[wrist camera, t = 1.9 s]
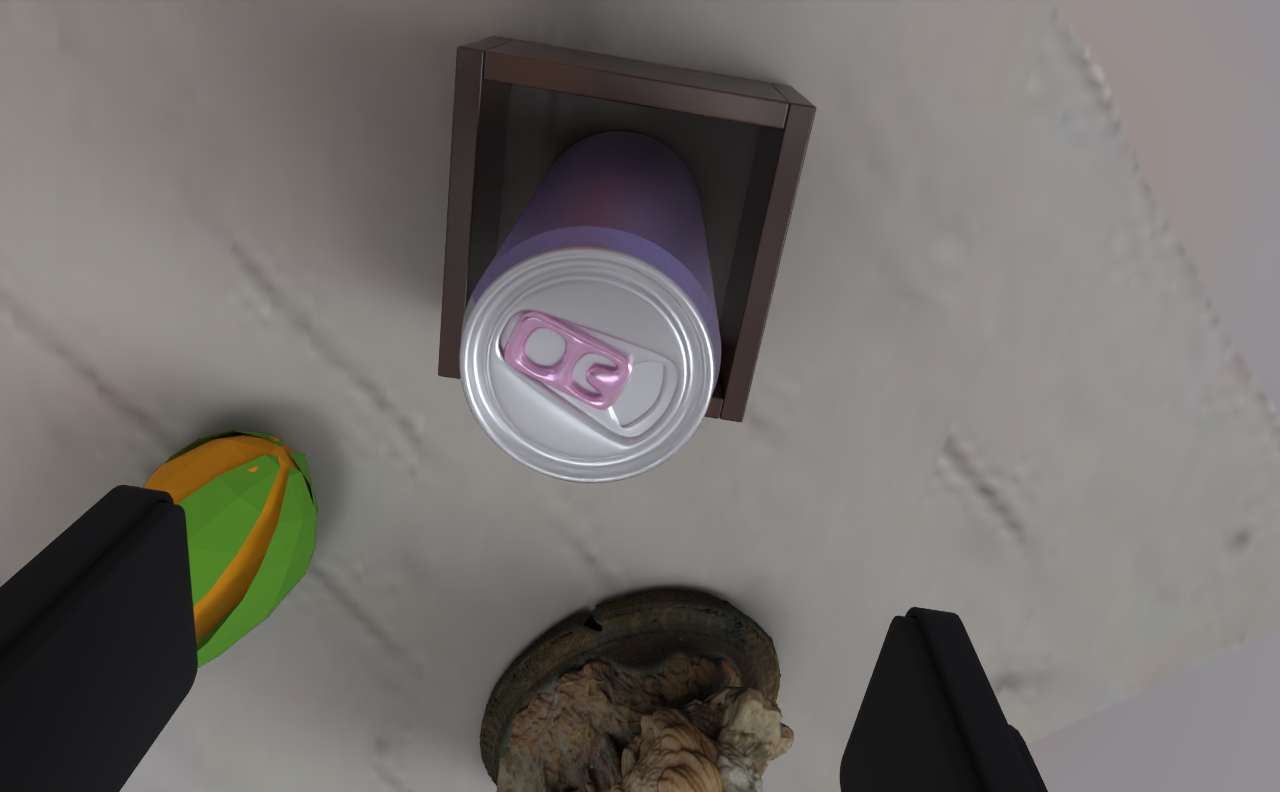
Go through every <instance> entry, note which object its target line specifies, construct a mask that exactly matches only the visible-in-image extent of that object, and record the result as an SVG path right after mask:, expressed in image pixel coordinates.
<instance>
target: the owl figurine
mask: <svg viewBox="0 0 1280 792" xmlns="http://www.w3.org/2000/svg"><path fill="white" fill-rule="evenodd" d="M596 606H597V607H596V610H594V617H593V618H594V619H595V621H596V622H597V623H598V624H600V625H602V628H603V629H602V631H601V632H598V631H595V630H592V629H590V628H588V627H586V626H584V625H583V624H584V622H585V621H586V620H587V618H588V616H589V615H588V614H587V613H580V614H577V615H573V616H571V617H569V618H567V619H566V620H564V621H562V622H561V623H559V624H558V625H557V626H555V627H554V628H551V629H550V630H549V631H547V632H546V633H544V635H543V636H542V637H540V638H539V639H538V640H536V641H535V642H534V643H533V644H532V645H531V646H530V647H528V648H527V649H526V650H525V651H524V652H522V654H521V655H520V656H518V657H517V658H516V660H515V661H514V662H513V663H512V664H511V666H509V668H508V670H506V671H505V673H504V675H503V676H502V678H500V681H499V682H498V683H497V685H496V686H495V688H493V689H494V691H492V695H491V698H490V699H489V702H488V704H487V706H486V710H485V714H484V718H483V720H482V726H481V732H480V737H479V738H481V739H480V747H481V756H482V760H483V763H484V765H485V768H486V770H487V772H488V774H489V776H490V777H491V778H492V781H493V782H494V783H495V784H496V786H497V792H762V790H763V787H762V783H763V781H762V779H761V776H762V775H763V773H764V771H765V769H766V768H767V766H768V763H769V761H771V760H774V759H775V758H777V757H779V756H780V755H782V754H784V753H786V751H787V750H788V749H789V748H790V747H791V746H792V744H793V740H794V733H793V731H792V729H790V728H789V727H788V726H786V725H784V724H782V723H781V722H780V721H781V719H782V714H781V710H780V709H779V708H778V705H777V704H776V700H777V696H778V691H779V685H780V676H781V675H780V670H779V664H778V659H777V654H776V651H775V647H774V645H773V641H772V638H771V637H770V636H768V634H767V633H766V632H765V631H764V630H763V629H762V628H761V627H760V626H759V625H758V624H757V623H756V622H755V621H753V620H752V619H751V618H750V617H749V616H747V615H745V614H743V613H742V612H741V611H739V610H738V609H736V608H735V607H734V606H732V605H731V604H730V603H729V602H728V601H724V600H722V599H720V598H718V597H716V596H712V595H710V594H708V593H703V592H696V591H688V590H679V589H657V590H648V591H642V592H638V593H634V594H631V595H627V596H625V597H623V598H620V599H618V600H611V601H606V602H602V603H601V604H598V605H596ZM489 697H490V696H489Z"/></svg>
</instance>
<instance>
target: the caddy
mask: <svg viewBox="0 0 1280 792" xmlns="http://www.w3.org/2000/svg"><path fill="white" fill-rule="evenodd" d="M511 84H514V85H520V86H526V87H532V88H538V89H544V90H550V91H555V92H561V93H567V94H573V95H579V96H585V97H591V98H597V99H603V100H609V101H615V102H621V103H627V104H633V105H639V106H645V107H651V108H657V109H663V110H669V111H675V112H681V113H687V114H692V115H698V116H704V117H710V118H716V119H722V120H728V121H734V122H740V123H746V124H752V125H758V126H761V129H760V134H759V139H758V144H757V148H756V153H755V158H754V163H753V167H752V172H751V177H750V182H749V186H748V191H747V196H746V201H745V205H744V210H743V215H742V220H741V224H740V229H739V234H738V239H737V243H736V248H735V253H734V258H733V262H732V267H731V272H730V277H729V281H728V286H727V291H726V296H725V300H724V305H723V310H722V315H721V319H720V324H719V331H720V339H721V363H720V370H719V375H718V379H717V382H716V386H715V389H714V391H713V394H712V397H711V400H710V404H709V406H708V409H707V411H706V414H705V417H711V418H720V419H723V420H730V421H737V422H742V421H743V417H744V413H745V409H746V404H747V400H748V396H749V392H750V387H751V383H752V379H753V375H754V370H755V366H756V362H757V358H758V353H759V349H760V345H761V341H762V337H763V332H764V328H765V324H766V320H767V315H768V311H769V307H770V303H771V298H772V294H773V290H774V286H775V281H776V277H777V273H778V269H779V264H780V260H781V256H782V252H783V247H784V243H785V239H786V235H787V230H788V226H789V222H790V218H791V213H792V209H793V205H794V201H795V197H796V192H797V188H798V184H799V180H800V175H801V171H802V167H803V163H804V158H805V154H806V150H807V146H808V141H809V137H810V133H811V129H812V124H813V120H814V116H815V112H816V107H815V106H814V105H813V104H812V103H810V102H809V101H808V100H807V99H806V98H804V97H803V96H802V95H801V94H800V93H799V92H797V91H796V90H795V89H794V88H793V87H791V86H786V85H780V84H774V83H771V84H770V83H768V82H762V81H756V80H750V79H745V78H739V77H733V76H727V75H721V74H715V73H709V72H703V71H698V70H692V69H686V68H680V67H674V66H668V65H662V64H656V63H651V62H645V61H639V60H633V59H627V58H621V57H615V56H609V55H603V54H598V53H592V52H586V51H580V50H574V49H568V48H562V47H556V46H551V45H545V44H539V43H533V42H527V41H521V40H513V39H510V38H504V37H498V36H491V37H488V38H485V39H481V40H478V41H475V42H471V43H468V44H465V45H461V46H458V47H457V57H456V74H455V92H454V109H453V126H452V143H451V160H450V177H449V194H448V211H447V228H446V246H445V263H444V280H443V297H442V314H441V331H440V348H439V365H438V375H439V376H444V377H450V378H457V379H461V377H460V365H459V356H460V345H461V333H462V325H463V319H464V315H465V311H466V308H467V305H468V302H469V300H470V297H471V295H472V293H473V291H474V289H475V287H476V286H477V284H478V282H479V281H480V279H481V278H482V276H483V274H484V273H485V271H486V270H487V268H488V267H489V265H490V263H491V262H492V260H493V259H494V257H495V256H496V251H497V240H498V228H499V216H500V205H501V193H502V181H503V170H504V158H505V146H506V134H507V123H508V111H509V99H510V88H511Z"/></svg>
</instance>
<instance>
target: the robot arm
mask: <svg viewBox="0 0 1280 792" xmlns="http://www.w3.org/2000/svg"><path fill="white" fill-rule="evenodd" d="M197 668H198V656H197V644H196V633H195V621H194V609H193V597H192V586H191V574H190V562H189V550H188V539H187V527H186V516H185V511H184V509H183V507H182V506H180V505H176V504H174V501H173V498H172V496H171V495H170V493H168V492H166V491H160V490H153V489H147V488H141V487H134V486H128V485H120V486H117V487H115V488H114V489H112V490H111V491H110V492H108V493H107V494H106V495H105V496H104V497H103V498H102V499H100V500H99V501H98V502H97V503H96V504H95V505H94V506H92V507H91V508H90V509H89V510H88V511H87V512H86V513H84V514H83V515H82V516H81V517H80V518H79V519H78V520H76V521H75V522H74V523H73V524H72V525H71V526H70V527H69V528H67V529H66V530H65V531H64V532H63V533H62V534H61V535H59V536H58V537H57V538H56V539H55V540H54V541H53V542H51V543H50V544H49V545H48V546H47V547H46V548H45V549H43V550H42V551H41V552H40V553H39V554H38V555H37V556H35V557H34V558H33V559H32V560H31V561H30V562H29V563H27V564H26V565H25V566H24V567H23V568H22V569H21V570H19V571H18V572H17V573H16V574H15V575H14V576H13V577H11V578H10V579H9V580H8V581H7V582H6V583H5V584H4V585H2V586H1V587H0V792H119V791H120V790H121V788H122V787H123V785H124V784H125V783H126V781H127V780H128V778H129V777H130V775H131V774H132V773H133V771H134V770H135V768H136V767H137V765H138V764H139V763H140V761H141V760H142V758H143V757H144V755H145V754H146V753H147V751H148V750H149V748H150V747H151V745H152V744H153V743H154V741H155V740H156V738H157V737H158V735H159V734H160V733H161V731H162V730H163V728H164V727H165V725H166V724H167V723H168V721H169V720H170V718H171V717H172V715H173V714H174V713H175V711H176V710H177V708H178V707H179V705H180V704H181V703H182V701H183V700H184V698H185V697H186V695H187V694H188V692H189V691H190V689H191V687H192V685H193V683H194V680H195V677H196V674H197ZM840 787H841V792H1048V791H1047V789H1046V787H1045V784H1044V782H1043V780H1042V778H1041V776H1040V774H1039V771H1038V769H1037V767H1036V765H1035V763H1034V761H1033V758H1032V756H1031V754H1030V752H1029V750H1028V748H1027V745H1026V743H1025V741H1024V739H1023V738H1022V736H1021V735H1020V733H1019V731H1018V730H1017V729H1015V728H1014V727H1013V726H1011V725H1008V723H1007V721H1006V719H1005V716H1004V714H1003V712H1002V710H1001V707H1000V705H999V703H998V701H997V699H996V696H995V694H994V692H993V690H992V687H991V685H990V683H989V681H988V679H987V676H986V674H985V672H984V670H983V667H982V665H981V663H980V661H979V659H978V656H977V654H976V652H975V650H974V647H973V645H972V643H971V641H970V639H969V636H968V634H967V632H966V630H965V627H964V625H963V623H962V621H961V619H960V618H959V616H958V615H957V614H955V613H951V612H944V611H938V610H931V609H925V608H918V607H913V608H910V609H909V611H908V612H907V614H906V616H905V617H904V616H895V617H894V618H893V620H892V622H891V624H890V627H889V630H888V632H887V635H886V638H885V641H884V643H883V646H882V649H881V652H880V654H879V657H878V660H877V663H876V666H875V668H874V671H873V674H872V677H871V679H870V682H869V685H868V688H867V691H866V693H865V696H864V699H863V702H862V704H861V707H860V710H859V713H858V715H857V718H856V721H855V724H854V727H853V729H852V732H851V735H850V738H849V740H848V743H847V746H846V749H845V751H844V754H843V757H842V761H841V767H840Z"/></svg>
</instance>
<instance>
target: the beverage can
mask: <svg viewBox="0 0 1280 792" xmlns="http://www.w3.org/2000/svg"><path fill="white" fill-rule="evenodd" d="M720 363H721V339H720V331H719V324H718V318H717V311H716V304H715V297H714V290H713V283H712V276H711V269H710V262H709V255H708V249H707V242H706V235H705V228H704V221H703V214H702V207H701V200H700V195H699V192H698V188H697V185H696V183H695V180H694V178H693V176H692V174H691V173H690V171H689V169H688V168H687V166H686V165H685V164H684V162H683V161H682V160H681V159H680V158H679V157H678V156H677V155H676V154H675V153H674V152H673V151H672V150H671V149H669V148H668V147H667V146H665V145H664V144H662V143H660V142H659V141H657V140H655V139H653V138H650V137H648V136H645V135H642V134H638V133H633V132H624V131H614V132H605V133H600V134H596V135H593V136H590V137H588V138H586V139H583V140H582V141H580V142H578V143H576V144H575V145H573V146H572V147H571V148H569V149H568V150H567V151H566V152H565V153H563V154H562V156H561V157H560V158H559V159H558V160H557V161H556V162H555V164H554V165H553V167H552V168H551V170H550V171H549V173H548V174H547V176H546V177H545V179H544V181H543V182H542V184H541V185H540V187H539V188H538V190H537V192H536V193H535V195H534V196H533V198H532V199H531V201H530V203H529V204H528V206H527V207H526V209H525V210H524V212H523V213H522V215H521V217H520V218H519V220H518V221H517V223H516V224H515V226H514V228H513V229H512V231H511V232H510V234H509V235H508V237H507V238H506V240H505V242H504V243H503V245H502V246H501V248H500V249H499V251H498V253H497V254H496V256H495V257H494V259H493V260H492V262H491V263H490V265H489V267H488V268H487V270H486V271H485V273H484V274H483V276H482V278H481V279H480V281H479V282H478V284H477V286H476V287H475V289H474V291H473V293H472V295H471V297H470V300H469V302H468V305H467V308H466V311H465V315H464V319H463V325H462V333H461V345H460V356H459V365H460V377H461V382H462V387H463V391H464V394H465V397H466V400H467V403H468V405H469V407H470V409H471V412H472V413H473V415H474V417H475V419H476V420H477V422H478V423H479V425H480V427H481V428H482V429H483V431H484V432H485V433H486V434H487V436H488V437H489V438H490V439H491V440H492V441H493V442H494V443H495V444H496V445H497V446H498V447H499V448H500V449H501V450H503V451H504V452H505V453H506V454H507V455H509V456H510V457H512V458H513V459H514V460H516V461H517V462H519V463H521V464H522V465H524V466H526V467H528V468H530V469H532V470H534V471H536V472H539V473H541V474H544V475H547V476H550V477H553V478H556V479H561V480H565V481H571V482H579V483H605V482H613V481H618V480H623V479H627V478H631V477H634V476H637V475H640V474H642V473H644V472H647V471H649V470H651V469H653V468H655V467H657V466H658V465H660V464H662V463H663V462H665V461H666V460H668V459H669V458H671V457H672V456H673V455H674V454H675V453H677V452H678V451H679V450H680V449H681V448H682V447H683V446H684V445H685V444H686V443H687V442H688V441H689V439H690V438H691V437H692V436H693V434H694V433H695V432H696V430H697V429H698V427H699V425H700V424H701V422H702V420H703V418H704V416H705V414H706V411H707V409H708V406H709V404H710V400H711V397H712V394H713V391H714V389H715V386H716V382H717V379H718V375H719V370H720Z"/></svg>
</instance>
